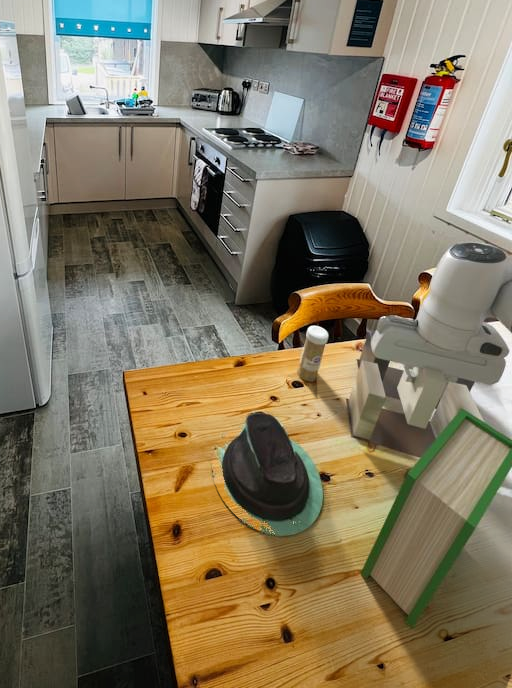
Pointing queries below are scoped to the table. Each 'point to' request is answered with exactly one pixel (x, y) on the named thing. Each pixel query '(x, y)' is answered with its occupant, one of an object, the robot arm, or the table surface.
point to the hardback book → (438, 511)
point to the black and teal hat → (271, 476)
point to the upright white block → (421, 395)
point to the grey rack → (395, 371)
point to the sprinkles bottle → (312, 353)
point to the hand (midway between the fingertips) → (421, 383)
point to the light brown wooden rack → (399, 414)
